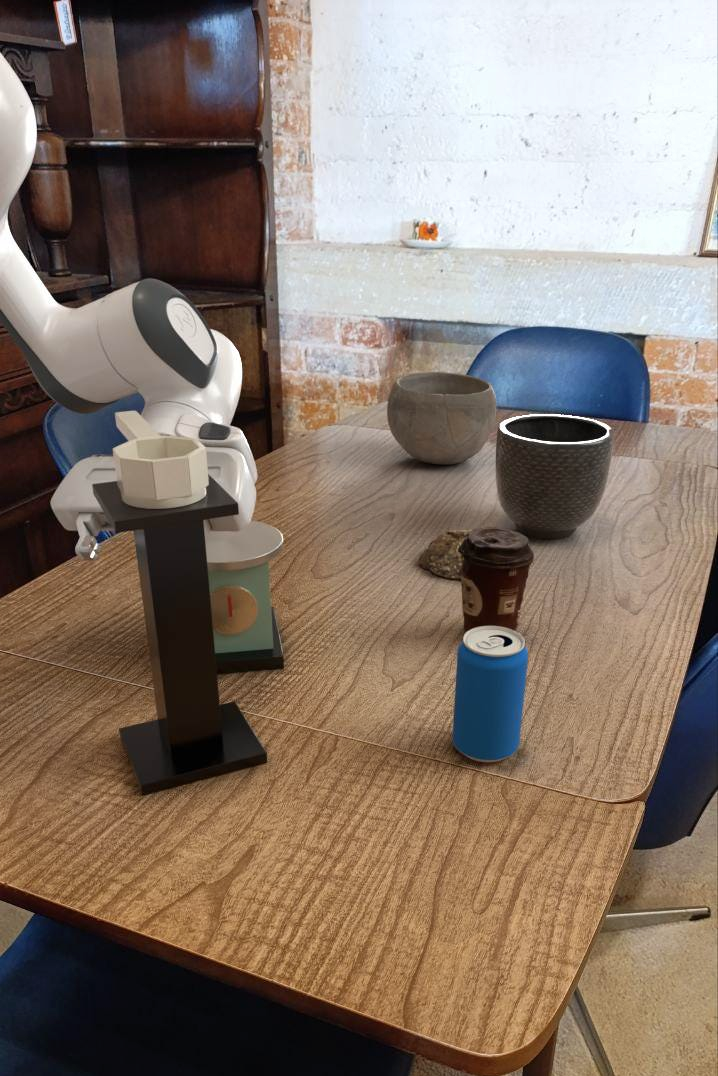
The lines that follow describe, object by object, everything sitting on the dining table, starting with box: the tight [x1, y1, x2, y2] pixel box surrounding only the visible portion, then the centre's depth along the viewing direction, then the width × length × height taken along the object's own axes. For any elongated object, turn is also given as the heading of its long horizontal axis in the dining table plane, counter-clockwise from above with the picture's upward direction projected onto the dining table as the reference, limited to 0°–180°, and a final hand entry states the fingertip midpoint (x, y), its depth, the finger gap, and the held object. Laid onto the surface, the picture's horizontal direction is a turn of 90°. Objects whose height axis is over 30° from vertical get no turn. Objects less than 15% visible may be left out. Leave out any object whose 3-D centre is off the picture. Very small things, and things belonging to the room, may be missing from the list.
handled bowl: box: [112, 410, 209, 509], centre depth 76 cm, size 17×7×4 cm, turn 25°
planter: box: [495, 414, 616, 540], centre depth 134 cm, size 17×17×16 cm
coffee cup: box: [458, 526, 535, 636], centre depth 103 cm, size 9×8×13 cm
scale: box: [205, 520, 285, 675], centre depth 101 cm, size 13×13×14 cm
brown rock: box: [417, 529, 472, 581], centre depth 124 cm, size 13×12×5 cm
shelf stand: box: [92, 474, 268, 796], centre depth 79 cm, size 10×12×26 cm
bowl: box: [386, 371, 498, 465], centre depth 168 cm, size 21×21×15 cm
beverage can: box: [451, 626, 529, 763], centre depth 83 cm, size 6×6×12 cm
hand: (129, 557), depth 82 cm, fingers open, 8 cm apart
